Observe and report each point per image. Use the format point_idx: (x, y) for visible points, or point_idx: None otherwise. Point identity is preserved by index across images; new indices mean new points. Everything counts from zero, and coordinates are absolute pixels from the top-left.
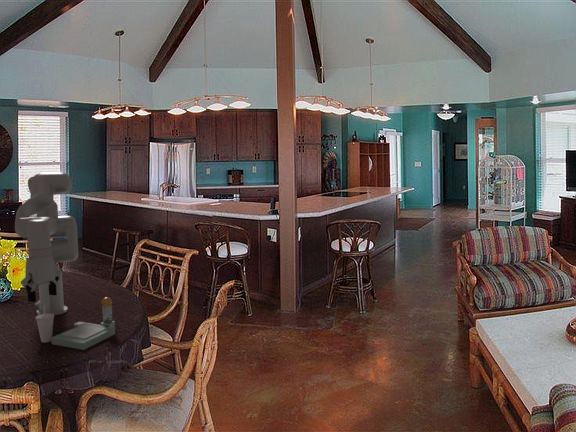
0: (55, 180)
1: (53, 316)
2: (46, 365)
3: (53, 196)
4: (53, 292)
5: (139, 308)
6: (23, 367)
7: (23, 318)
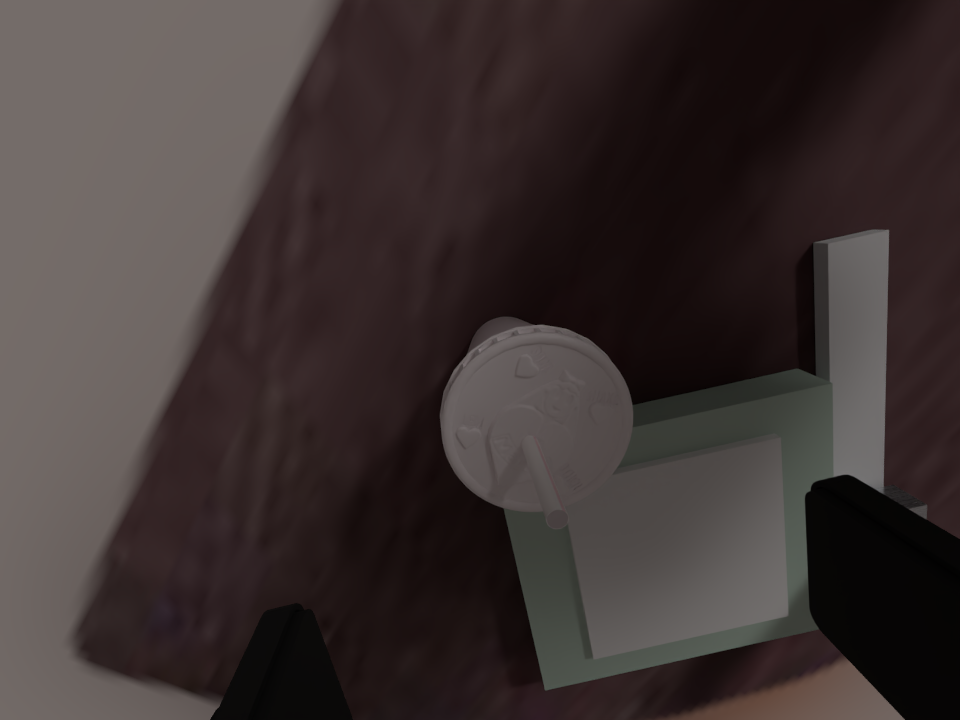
0: None
1: (590, 490)
2: None
3: None
4: (852, 635)
5: None
6: (189, 620)
7: None
